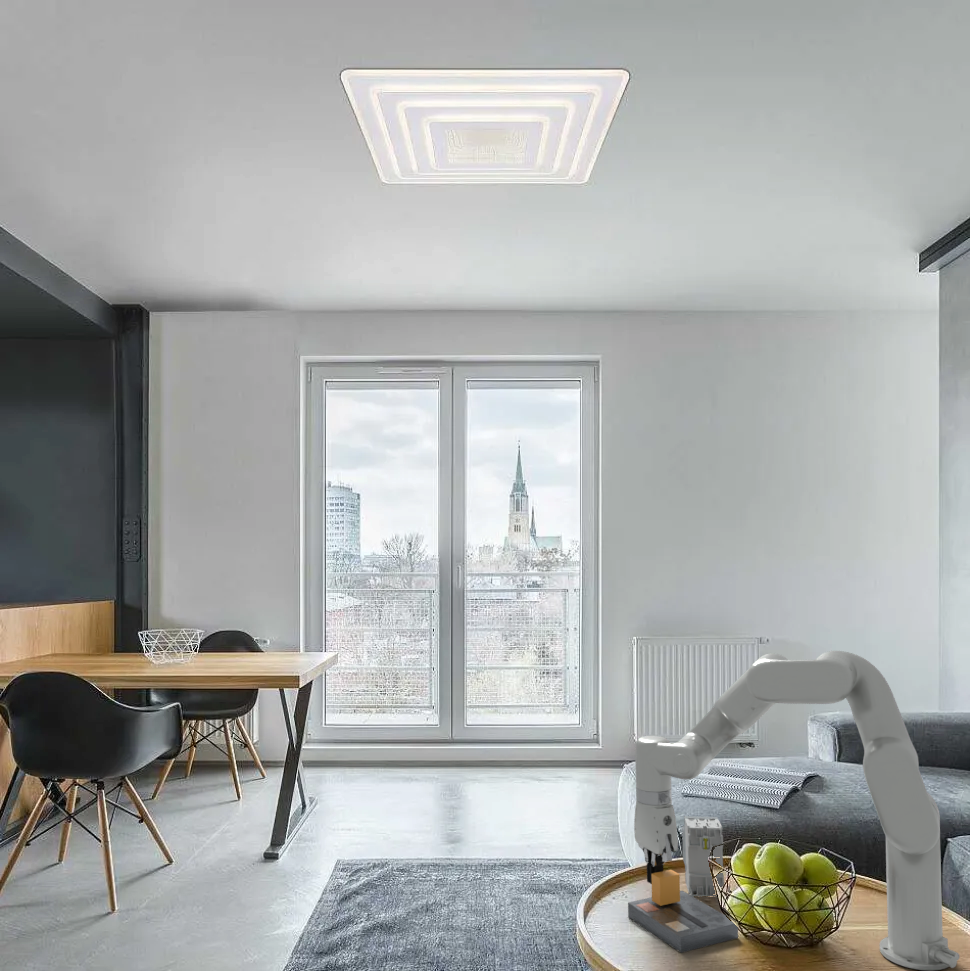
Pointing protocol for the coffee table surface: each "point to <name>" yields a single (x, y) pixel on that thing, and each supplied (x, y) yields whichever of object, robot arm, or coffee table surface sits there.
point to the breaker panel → (683, 922)
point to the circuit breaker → (701, 853)
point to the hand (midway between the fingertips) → (655, 882)
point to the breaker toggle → (665, 887)
